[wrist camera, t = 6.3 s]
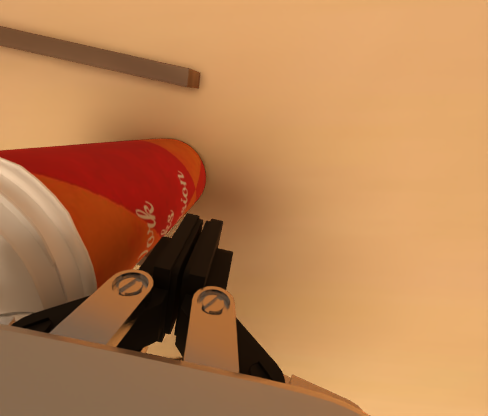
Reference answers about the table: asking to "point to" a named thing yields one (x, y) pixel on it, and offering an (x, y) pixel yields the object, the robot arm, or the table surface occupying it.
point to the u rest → (99, 61)
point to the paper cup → (86, 215)
